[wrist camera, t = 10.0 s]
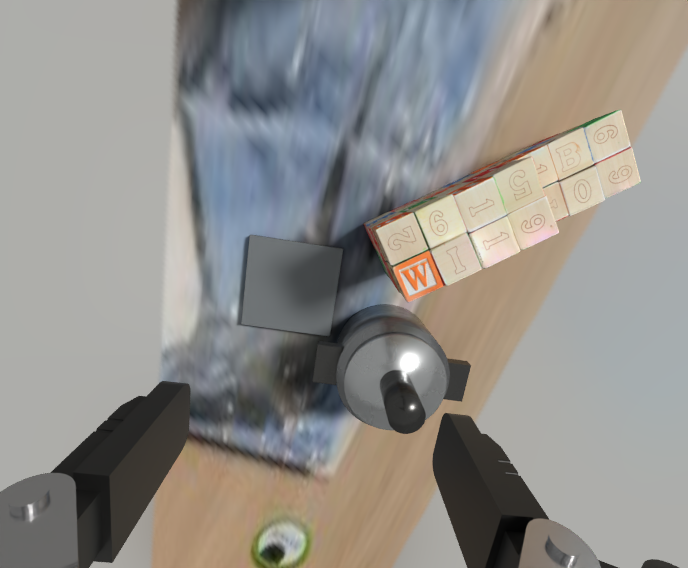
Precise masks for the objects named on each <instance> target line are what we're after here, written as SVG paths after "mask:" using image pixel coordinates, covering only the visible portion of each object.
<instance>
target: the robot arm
mask: <svg viewBox="0 0 688 568" xmlns="http://www.w3.org/2000/svg"><path fill="white" fill-rule="evenodd" d="M189 415H190V386H189V384H186V383H177V382H168V381H162V382H160V383H159V384H158V385H157V386H156V387H155V388H154V389H153V391H151V392H150V394H148V396H147V397H145V396H138V397H136V398H134V399H133V400H131V401H129V402H127V403H125V404H123V405H121V406H120V407H119V408H118V409H117V410H116V411H115V412H114V413H113V414H112V415H111V416H110V417H109V418H108V420H107V421H104V422H103V423H102V424H101V425H100V426H99V427H98V428H97V430H96V432H93V433H92V434H91V435H90V436H89V437H88V438H86V439H85V441H83V442H82V443H81V444H80V445H79V446H78V447H77V448H76V449H75V450H74V451H73V452H72V453H71V454H70V455H69V456H68V457H66V458H65V459H64V460H63V461H62V462H61V463H60V464H59V465H58V466H57V467H56V468H55V469H54V470H53V471H52V472H51V473H45V474H40V475H36V476H32V477H29V478H27V479H24V480H22V481H19V482H17V483H15V484H13V485H11V486H9V487H7V488H6V489H4V490H3V491H1V492H0V568H89V567H90V565H91V564H92V563H93V561H97V562H110V563H112V562H113V561H114V559H115V558H116V556H117V554H118V553H119V551H120V550H121V548H122V546H123V545H124V543H125V541H126V540H127V538H128V537H129V535H130V533H131V532H132V530H133V529H134V527H135V525H136V524H137V522H138V520H139V519H140V517H141V515H142V514H143V512H144V511H145V509H146V508H147V506H148V504H149V503H150V501H151V499H152V498H153V496H154V495H155V493H156V491H157V490H158V488H159V486H160V485H161V483H162V482H163V480H164V478H165V477H166V475H167V474H168V472H169V470H170V469H171V467H172V465H173V464H174V462H175V461H176V459H177V457H178V456H179V454H180V453H181V451H182V449H183V447H184V445H185V442H186V439H187V436H188V431H189ZM433 472H434V476H435V479H436V481H437V484H438V487H439V490H440V492H441V495H442V498H443V501H444V504H445V507H446V509H447V512H448V515H449V518H450V520H451V523H452V526H453V529H454V532H455V534H456V537H457V540H458V543H459V546H460V548H461V551H462V554H463V557H464V560H465V562H466V565H467V568H618V567H615V566H612V565H610V564H607V563H605V562H602V561H600V560H598V559H597V557H596V555H595V554H594V553H593V551H592V550H591V549H590V547H589V546H588V545H587V544H586V543H585V542H584V541H583V540H582V539H581V538H580V537H579V536H578V535H576V534H575V533H574V532H572V531H571V530H570V529H568V528H566V527H564V526H563V525H561V524H559V523H557V522H554V521H551V520H549V518H548V517H547V515H546V514H545V512H544V511H543V509H542V508H541V506H540V505H539V503H538V502H537V500H536V499H535V497H534V496H533V494H532V493H531V491H530V490H529V488H528V487H527V485H526V484H525V482H524V481H523V479H522V478H521V476H518V472H517V470H516V469H515V468H514V466H513V464H510V460H509V458H508V457H507V455H506V454H505V452H504V451H503V449H502V448H501V447H500V446H499V445H498V444H497V443H495V441H493V440H492V439H491V438H490V437H489V436H488V435H487V434H481V433H480V431H479V430H478V428H477V426H476V424H475V423H474V421H473V420H472V418H471V417H470V416H467V415H458V414H449V413H445V414H444V415H443V417H442V420H441V424H440V428H439V432H438V436H437V440H436V444H435V448H434V453H433ZM641 568H678V567H677V566H674V565H672V564H670V563H667V562H664V561H660V560H653V559H652V560H647V561H645V562H644V564H643V566H642V567H641Z"/></svg>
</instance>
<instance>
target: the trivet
mask: <svg viewBox="0 0 688 568" xmlns="http://www.w3.org/2000/svg"><path fill="white" fill-rule="evenodd" d="M342 254H343V249H342V248H335V247H329V246H322V245H316V244H309V243H303V242H296V241H290V240H283V239H276V238H270V237H263V236H257V235H250V238H249V249H248V259H247V270H246V280H245V291H244V302H243V312H242V323H241V324H243V325H251V326H258V327H265V328H272V329H280V330H287V331H294V332H301V333H308V334H316V335H323V336H330V332H331V325H332V319H333V312H334V306H335V299H336V293H337V286H338V280H339V273H340V267H341V260H342Z"/></svg>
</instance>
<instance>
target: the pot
mask: <svg viewBox="0 0 688 568" xmlns="http://www.w3.org/2000/svg"><path fill="white" fill-rule="evenodd" d="M386 332H405V333H410V334H412V335H415V336H417V337H419V338H421V339H423V340H424V341H426V342H427V343H428V344H429V345H430V346H431V347H432V348H433V349H434V350H435V352H436V353H437V354H438V356H439V357H440V359H441V361H442V363H443V365H444V367H445V371H446V378H447V386H446V391H445V395H444V398H443V399H447V400H455V401H462V399H463V395H464V391H465V387H466V383H467V379H468V375H469V371H470V367H471V365H470V364H469V363H468V362H467V361H462V360H454V359H447V358H446V355H445V353H444V351H443V350H442V348H441V346H440V345H439V344H438V343H437V341H436V340H435V339H434V337H433V336H432V335H431V333H430V332H429V331H428V330H427V328H426V327H425V326H424V324H423V323H422V322H421V321H420V319H419V318H418V317H417V316H415V315H414V314H413V313H412V312H410V311H408V310H406V309H404V308H402V307H399V306H395V305H387V304H383V305H375V306H371V307H368V308H365V309H363V310H361V311H359V312H358V313H356V314H355V315H354V316H352V317H351V318H350V319H349V320H348V321H347V323H346V324H345V325H344V327H343V328H342V330H341V332H340V335H339V337H338V342H337V343H331V342H324V341H318V347H317V354H316V361H315V367H314V374H313V381H312V382H317V383H325V384H333V385H336V383H337V388H338V392H339V395H340V398H341V400H342V402H343V404H344V405H345V407H346V408H347V409H348V410H349V411H350V413H351V414H352V415H354V416H355V417H356V418H357V419H359V420H361V419H360V418H359V417H358V416H357V415H356V414H355V413H354V412H353V410H352V409H351V408H350V406H349V404H348V402H347V399H346V395H345V390H344V373H345V368H346V365H347V362H348V360H349V358H350V356H351V355H352V353H353V352H354V351H355V349H356V348H357V347H358V346H359V345H360V344H362V343H363V342H364V341H366V340H367V339H369V338H371V337H373V336H375V335H378V334H381V333H386ZM361 421H362V420H361ZM362 422H364V421H362ZM364 423H366V422H364ZM366 424H367V423H366ZM368 425H369V424H368Z"/></svg>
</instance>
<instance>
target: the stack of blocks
mask: <svg viewBox="0 0 688 568" xmlns="http://www.w3.org/2000/svg"><path fill="white" fill-rule="evenodd" d="M640 182H641V180H640V176H639V172H638V169H637V165H636V161H635V157H634V153H633V149H632V148H631V147H630V141H629V137H628V134H627V130H626V126H625V122H624V119H623V115H622V111H621V110H617V111H614V112H611V113H609V114H606V115H603V116H601V117H598V118H595V119H593V120H591V121H589V122H587V123H585V124H582V125H580V126H577V127H574V128H572V129H569V130H567V131H565V132H562V133H559V134H556V135H554V136H552V137H549V138H547V139H545V140H543V141H541V142H539V143H536V144H534V145H532V146H530V147H528V148H525V149H522V150H520V151H518V152H516V153H513V154H511V155H509V156H507V157H505V158H503V159H501V160H499V161H497V162H495V163H492V164H490V165H488V166H486V167H484V168H481V169H479V170H477V171H475V172H473V173H471V174H469V175H468V176H466V177H464V178H462V179H460V180H457V181H455V182H453V183H451V184H449V185H447V186H444V187H443V188H441V189H438V190H436V191H434V192H432V193H430V194H428V195H426V196H424V197H421V198H419V199H417V200H414V201H411V202H409V203H407V204H405V205H403V206H401V207H398V208H396V209H394V210H392V211H390V212H387V213H385V214H383V215H380V216H378V217H376V218H374V219H372V220H370V221H367V222H365V223H364V226H365V228H366V231H367V233H368V235H369V237H370V240H371V242H372V244H373V246H374V248H375V250H376V252H377V254H378V256H379V259H380V261H381V263H382V266H383V268H384V270H385V273H386V274H387V275H388V277H389V278H390V279H391V281H392V282H393V284H394V285H395V287H396V288H397V290H398V291H399V292H400V293H401V294H402V295H403V297H404V298H405V300H406V301H407V302H408V303H409V302H411V301H413V300H415V299H418V298H420V297H422V296H424V295H426V294H428V293H431V292H433V291H435V290H437V289H439V288H442V287H443V286H444V285H445V286H448V285H451V284H453V283H455V282H457V281H459V280H461V279H463V278H465V277H467V276H469V275H472V274H474V273H476V272H478V271H480V270H481V269H482V268H484V269H485V268H488V267H490V266H492V265H494V264H496V263H498V262H500V261H503V260H505V259H507V258H509V257H511V256H513V255H515V254H517V253H519V252H520V251H521V250H524V249H527V248H529V247H531V246H533V245H535V244H537V243H539V242H541V241H543V240H546V239H548V238H550V237H552V236H554V235H556V234H558V233H559V230H558V228H557V225H556V221H559V220H561V219H563V218H565V217H567V216H572V215H574V214H576V213H579V212H581V211H583V210H585V209H588V208H590V207H592V206H594V205H596V204H598V203H601V202H603V201H604V200H605V199H606V198H608V197H610V196H613V195H615V194H617V193H619V192H621V191H624V190H626V189H628V188H630V187H633V186H635V185H637V184H639V183H640Z"/></svg>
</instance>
